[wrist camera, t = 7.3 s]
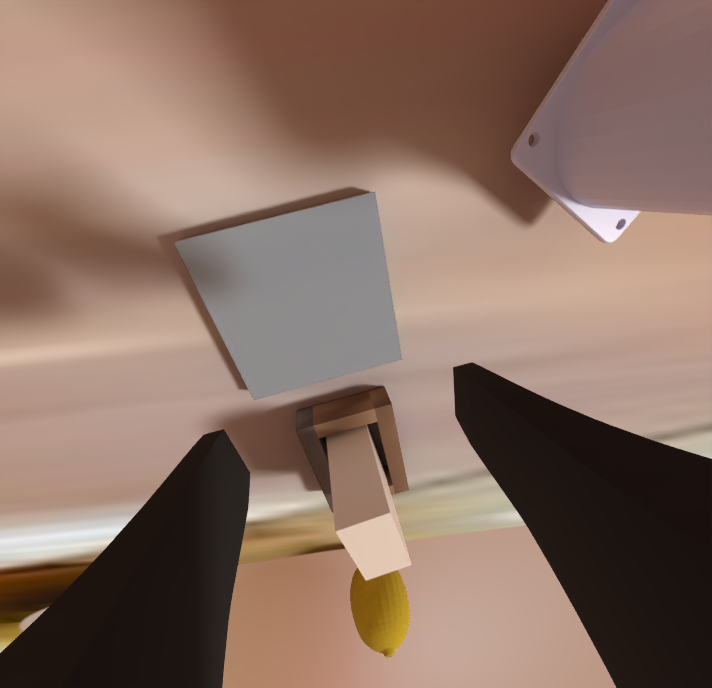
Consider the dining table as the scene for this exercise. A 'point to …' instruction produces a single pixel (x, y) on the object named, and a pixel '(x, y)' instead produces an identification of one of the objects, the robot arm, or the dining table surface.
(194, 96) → the dining table surface
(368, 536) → the tan rectangular post
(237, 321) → the tile
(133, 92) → the dining table surface
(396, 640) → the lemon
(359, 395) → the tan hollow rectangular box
